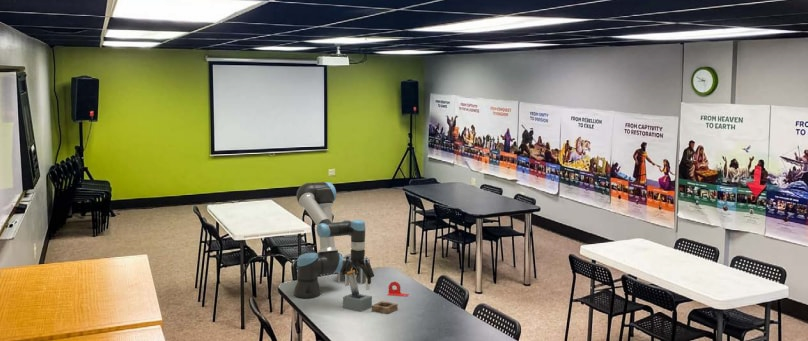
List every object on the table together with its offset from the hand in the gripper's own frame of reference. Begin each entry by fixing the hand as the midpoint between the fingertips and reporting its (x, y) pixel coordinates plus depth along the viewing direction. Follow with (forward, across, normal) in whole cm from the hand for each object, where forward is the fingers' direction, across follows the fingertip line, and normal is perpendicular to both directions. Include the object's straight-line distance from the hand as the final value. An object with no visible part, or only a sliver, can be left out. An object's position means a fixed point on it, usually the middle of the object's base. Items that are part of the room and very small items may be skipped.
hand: (357, 287), depth 342 cm
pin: (+4, -1, 0) cm, 4 cm away
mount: (+11, +16, +4) cm, 19 cm away
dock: (+11, 0, 0) cm, 11 cm away
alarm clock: (+12, -30, +39) cm, 51 cm away
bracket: (+11, +7, +31) cm, 34 cm away
